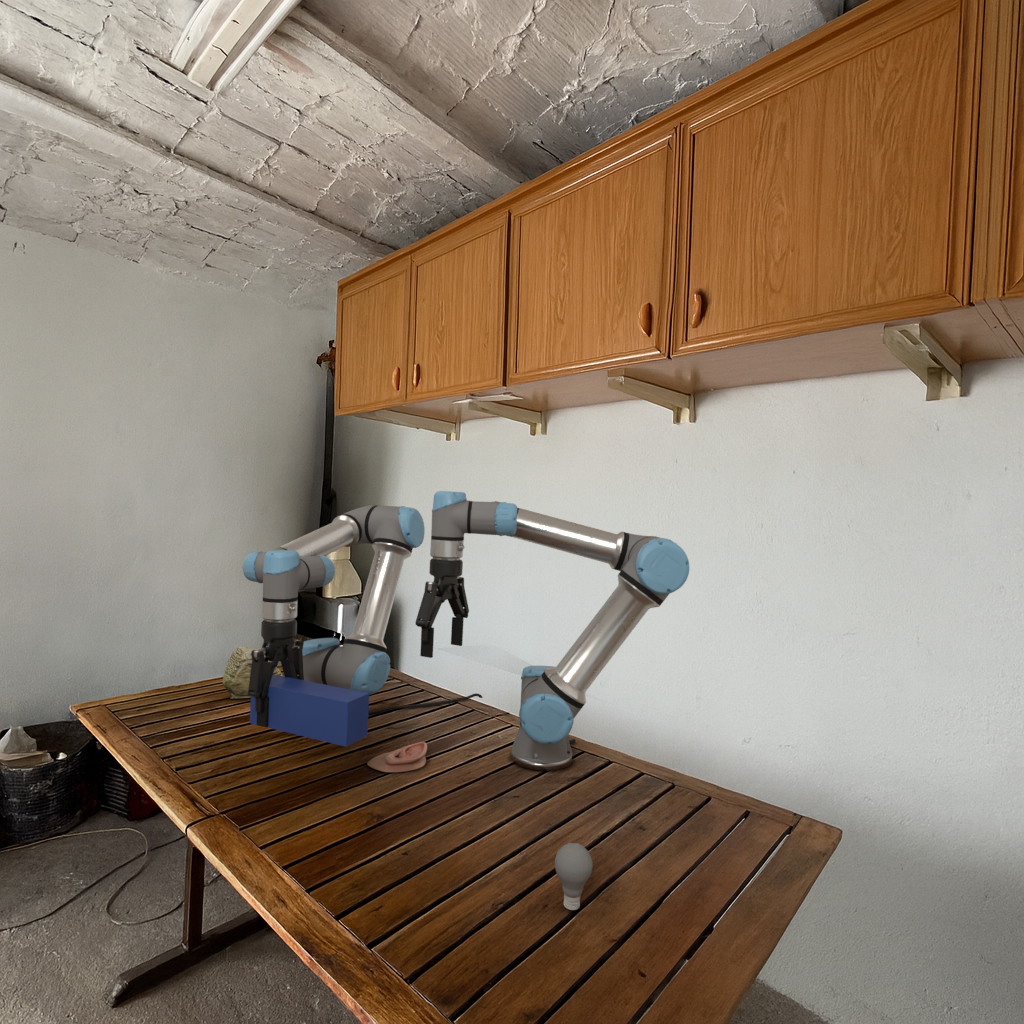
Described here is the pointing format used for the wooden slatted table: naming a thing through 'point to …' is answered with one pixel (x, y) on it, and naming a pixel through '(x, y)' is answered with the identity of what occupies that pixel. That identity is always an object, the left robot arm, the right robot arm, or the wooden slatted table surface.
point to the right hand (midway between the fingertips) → (442, 650)
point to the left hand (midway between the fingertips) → (275, 720)
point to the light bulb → (573, 872)
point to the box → (316, 710)
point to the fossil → (240, 672)
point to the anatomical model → (401, 759)
